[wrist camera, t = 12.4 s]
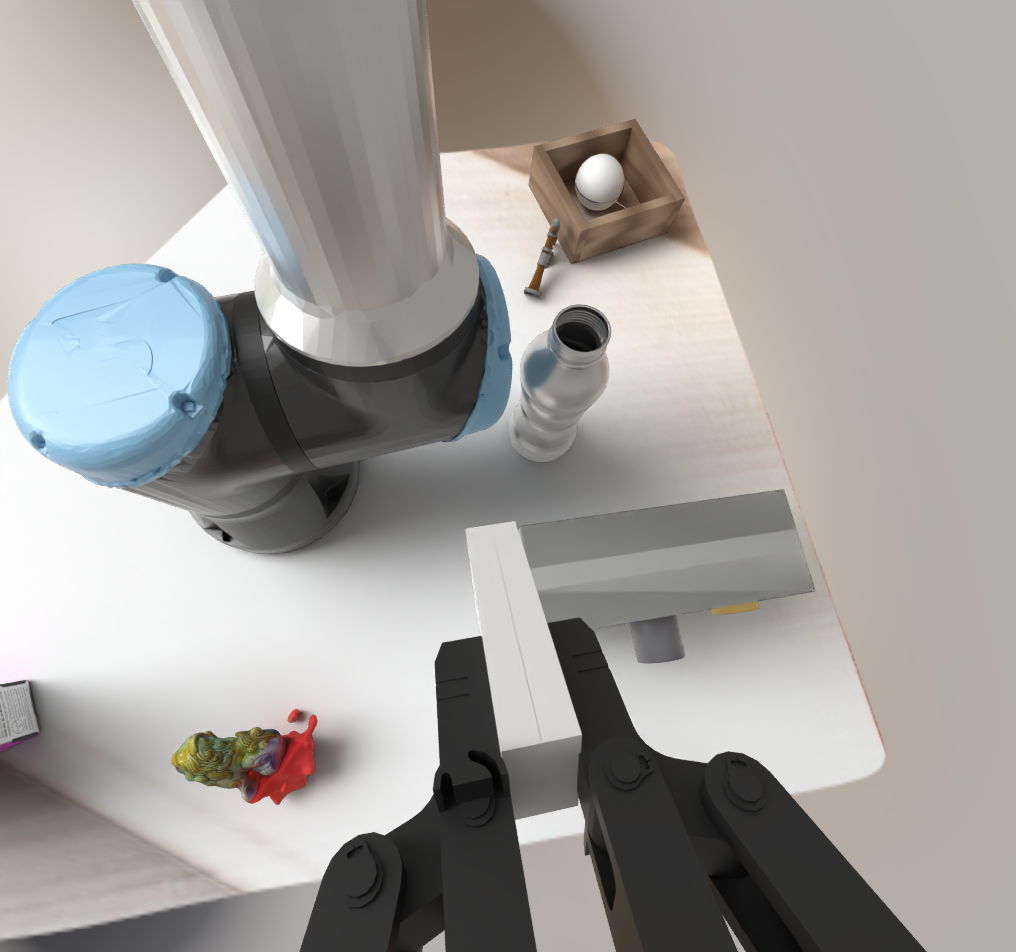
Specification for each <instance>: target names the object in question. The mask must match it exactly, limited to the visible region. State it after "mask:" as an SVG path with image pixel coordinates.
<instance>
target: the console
mask: <svg viewBox="0 0 1016 952" xmlns="http://www.w3.org/2000/svg"><path fill="white" fill-rule="evenodd" d="M518 532H519V535H520V538H521V541H522V545H523V548H524V551H525V554H526V557H527V561H528V564H529V567H530V570H531V573H532V577H533V580H534V583H535V586H536V589H537V593H538V596H539V599H540V602H541V605H542V609H543V612H544V615H545V618H546V621H547V623H550V622H555V621H561V620H567V619H572V618H578V617H580V618H581V619H582V620H583V621H584V622H585V623H586V624H587V625H588V626H589V627H590V628H591V629H595V628H601V627H607V626H613V625H619V624H625V623H630V622H636V621H642V620H648V619H654V618H660V617H666V616H672V615H678V614H684V613H690V612H696V611H702V610H708V609H714V608H719V607H725V606H731V605H737V604H743V603H749V602H755V601H761V600H767V599H773V598H779V597H785V596H791V595H797V594H803V593H809V592H814V591H815V588H814V585H813V582H812V579H811V575H810V572H809V569H808V566H807V562H806V559H805V556H804V553H803V549H802V546H801V543H800V540H799V536H798V533H797V530H796V527H795V523H794V520H793V517H792V514H791V510H790V507H789V504H788V501H787V497H786V494H785V491H784V489H782V490H775V491H768V492H760V493H753V494H746V495H739V496H732V497H725V498H718V499H711V500H703V501H696V502H689V503H682V504H675V505H668V506H661V507H653V508H646V509H639V510H632V511H625V512H618V513H611V514H604V515H596V516H589V517H582V518H575V519H568V520H561V521H554V522H546V523H539V524H532V525H525V526H521V527H520V529H519V530H518Z"/></svg>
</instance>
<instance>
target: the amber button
mask: <svg viewBox="0 0 1016 952" xmlns="http://www.w3.org/2000/svg"><path fill="white" fill-rule="evenodd" d="M759 608H760V607H759V603H758V601H755V602H749V603H743V604H737V605H731V606H725V607H719V608H714V609H711V611H712V614H730V613H738V612H745V611H751V610H756V609H759Z"/></svg>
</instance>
